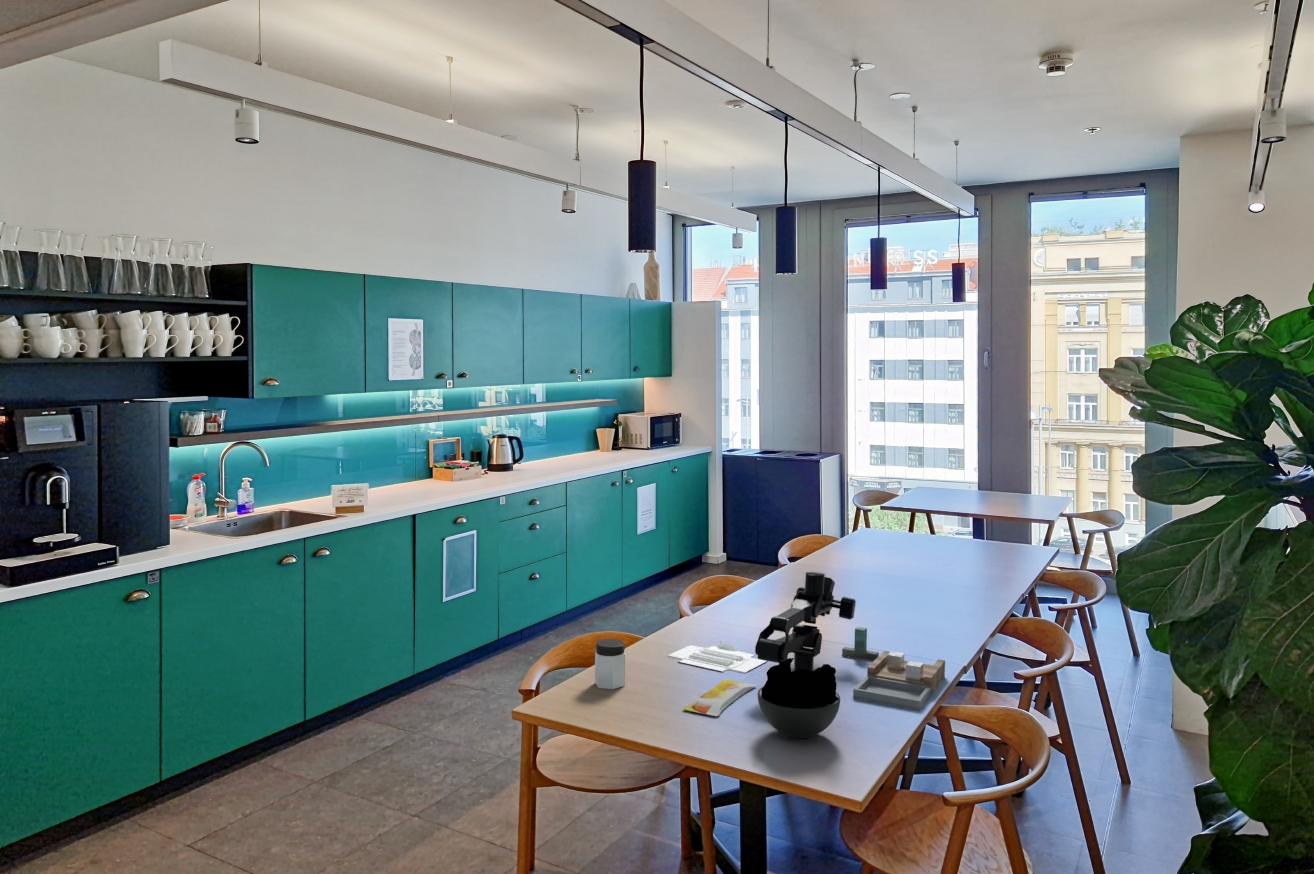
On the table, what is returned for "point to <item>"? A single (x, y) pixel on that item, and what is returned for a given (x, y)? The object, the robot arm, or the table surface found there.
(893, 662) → the white cube
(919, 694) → the tray
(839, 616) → the robot arm
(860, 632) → the rake tool
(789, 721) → the coal bowl
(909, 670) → the light grey cube
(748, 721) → the table surface
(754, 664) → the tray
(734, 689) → the food package
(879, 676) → the slot block
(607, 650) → the jar
